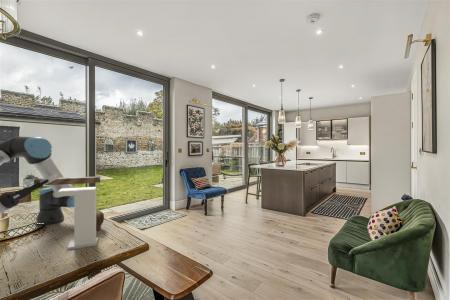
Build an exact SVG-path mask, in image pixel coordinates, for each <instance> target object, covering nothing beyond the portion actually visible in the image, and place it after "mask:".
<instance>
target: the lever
mask: <svg viewBox="0 0 450 300" xmlns="http://www.w3.org/2000/svg"><path fill="white" fill-rule="evenodd" d="M45 179H46V178H45ZM42 180H44V178H35V179H34V180H33V185H34V184H36V183H38V182H40V181H42ZM40 183H41V182H40ZM96 183H97V184H98V183H101V176H77V177H73V176H72V177H64V178H57V179H56V180H54V181H52V182H50V183H48V184H46V185H45V186H49V185H64V184H71V185H81V184H82V185H84V184H96Z"/></svg>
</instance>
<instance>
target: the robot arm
mask: <svg viewBox="0 0 450 300" xmlns="http://www.w3.org/2000/svg"><path fill="white" fill-rule="evenodd" d="M52 151H53V146H52V143H51V142H50V141H49V140H48V139H47V138H46V137H40V136H14V137H13V136H12V137H10V138H8V139H6V140H4V141H1V142H0V166H2V165H3V164H4V163H8V162H11V160H13V159H15V158H16V159H17V158H24V160H25V161H26V162H27V163H28V164H29V165H33V166H34V167H35V168H36V170H37V171H38V172H39V174H40V175H41V176H42V179H44V180H42V181H40V182H41V183H40V182H38V183H36V184H34V183H33V185H31V186H29V187H27V186H26V187H25V188H22V189H20V190H18V191H15V192H12V191H6V192H4V193H2V194H0V214H3V213H5V212H6V211H8V210H10V209H12V208H15V206H18V205H19V204H20V200H21V199H23V198H25V197H27V196H28V195H30V194H31V193H32V192H33V191H36V190H38V189H40V188H41V189H40V190H39V194H38V200H39V201H38V203H39V204H38V205H39V206H38V207H39V208H38V209H39V212H38V214H37V217H36V219H35V223H36V222H37V223H44V224H45V226H46V225H52V224H56V223H60V222H62V221H64V220H65V215H64V213H63V210H62V208H67V209H68V208H74V196H60V197H58V191H59V190H60V189H62V188H75V187H74V186H73V184H64V185H48V186H49V187H45V186H47V185H46V184H48V183H50V182H52V181H54V180H56V179H57V178H65V177H64V175H63V174H62V172H61V171H60V170H59V168H58V167H57V165H56V163H55V162H54V160H53V159H52V158H51V156H52ZM45 178H46V179H45Z"/></svg>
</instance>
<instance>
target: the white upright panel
mask: <svg viewBox="0 0 450 300" xmlns="http://www.w3.org/2000/svg"><path fill="white" fill-rule="evenodd" d="M60 196H74V207H73V208H74V211H73V212H74V215H73V217H74V218H73V219H74V220H73V222H74V224H73V225H74V227H73V228H74V230H73V231H74V233H73V235H74V237H73V240H70V241H69V243H68V245H67V246H66V250H75V249H82V248H89V247H96V246H98V241H99V237H97V231H96V211H97V186H86V187H85V186H83V187H74V188H62V189H60V190H59V191H58V197H60Z"/></svg>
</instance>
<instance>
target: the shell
mask: <svg viewBox="0 0 450 300" xmlns="http://www.w3.org/2000/svg"><path fill="white" fill-rule="evenodd" d="M104 219H105V215H104V212H102V211H101V210H96V232H98V231H100V230H101V228H102V225H103V224H104Z"/></svg>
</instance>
